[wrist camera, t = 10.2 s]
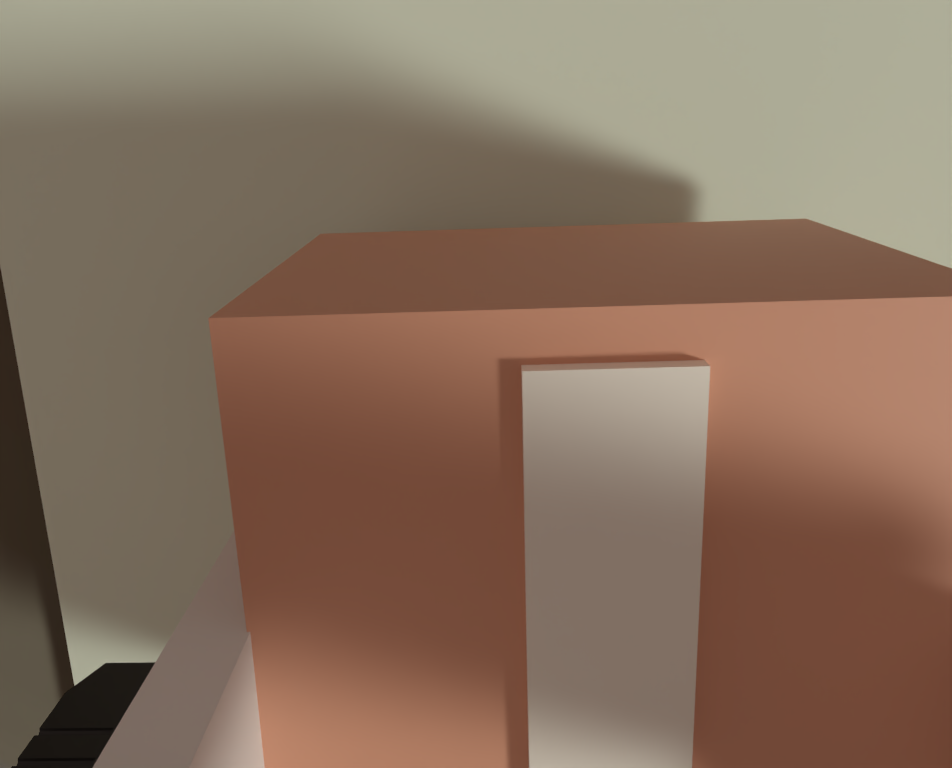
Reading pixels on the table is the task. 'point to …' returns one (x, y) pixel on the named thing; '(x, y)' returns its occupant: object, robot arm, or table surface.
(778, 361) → the card box
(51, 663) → the table surface
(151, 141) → the mat
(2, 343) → the table surface
